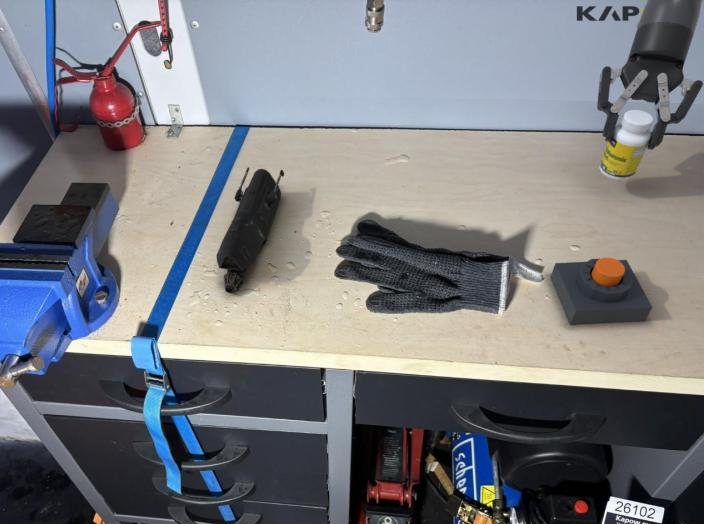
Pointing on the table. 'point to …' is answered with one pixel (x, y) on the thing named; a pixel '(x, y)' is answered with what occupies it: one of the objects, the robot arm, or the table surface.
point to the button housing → (598, 295)
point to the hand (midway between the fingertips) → (629, 144)
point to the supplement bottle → (627, 145)
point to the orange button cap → (608, 272)
